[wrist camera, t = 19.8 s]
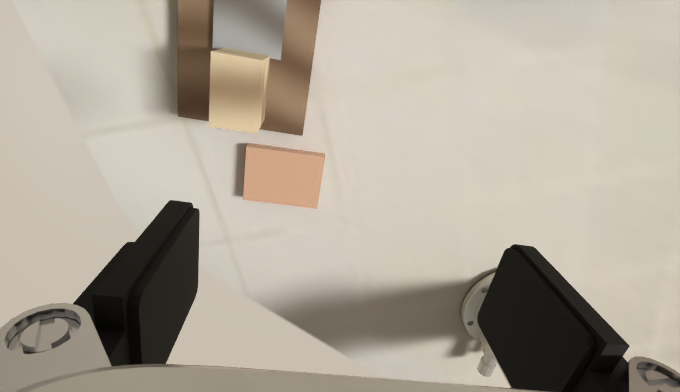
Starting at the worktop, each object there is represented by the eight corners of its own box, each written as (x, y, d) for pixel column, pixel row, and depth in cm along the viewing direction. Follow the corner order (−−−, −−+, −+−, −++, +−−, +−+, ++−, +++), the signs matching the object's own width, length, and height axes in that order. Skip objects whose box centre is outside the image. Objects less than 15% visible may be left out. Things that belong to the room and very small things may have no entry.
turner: (274, 121, 36) (268, 135, 32) (211, 111, 36) (196, 124, 31) (289, -28, 31) (285, -37, 27) (216, -43, 30) (199, -55, 26)
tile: (316, 208, 41) (243, 199, 40) (316, 202, 42) (245, 193, 41) (324, 157, 38) (246, 146, 37) (324, 152, 40) (248, 141, 39)
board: (302, 132, 38) (302, 135, 37) (182, 113, 37) (178, 116, 36) (323, -22, 32) (324, -24, 31) (182, -52, 31) (177, -55, 30)
